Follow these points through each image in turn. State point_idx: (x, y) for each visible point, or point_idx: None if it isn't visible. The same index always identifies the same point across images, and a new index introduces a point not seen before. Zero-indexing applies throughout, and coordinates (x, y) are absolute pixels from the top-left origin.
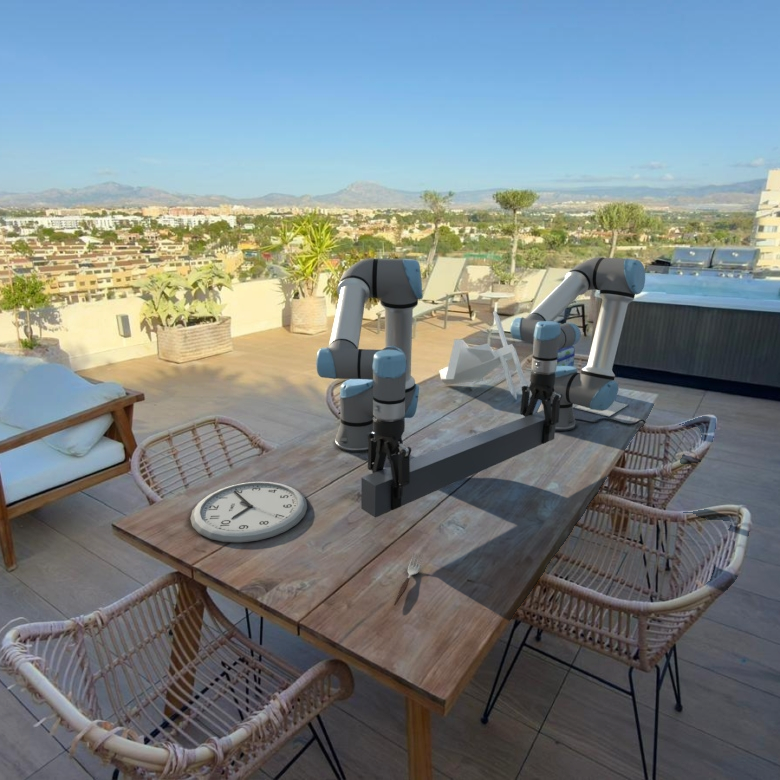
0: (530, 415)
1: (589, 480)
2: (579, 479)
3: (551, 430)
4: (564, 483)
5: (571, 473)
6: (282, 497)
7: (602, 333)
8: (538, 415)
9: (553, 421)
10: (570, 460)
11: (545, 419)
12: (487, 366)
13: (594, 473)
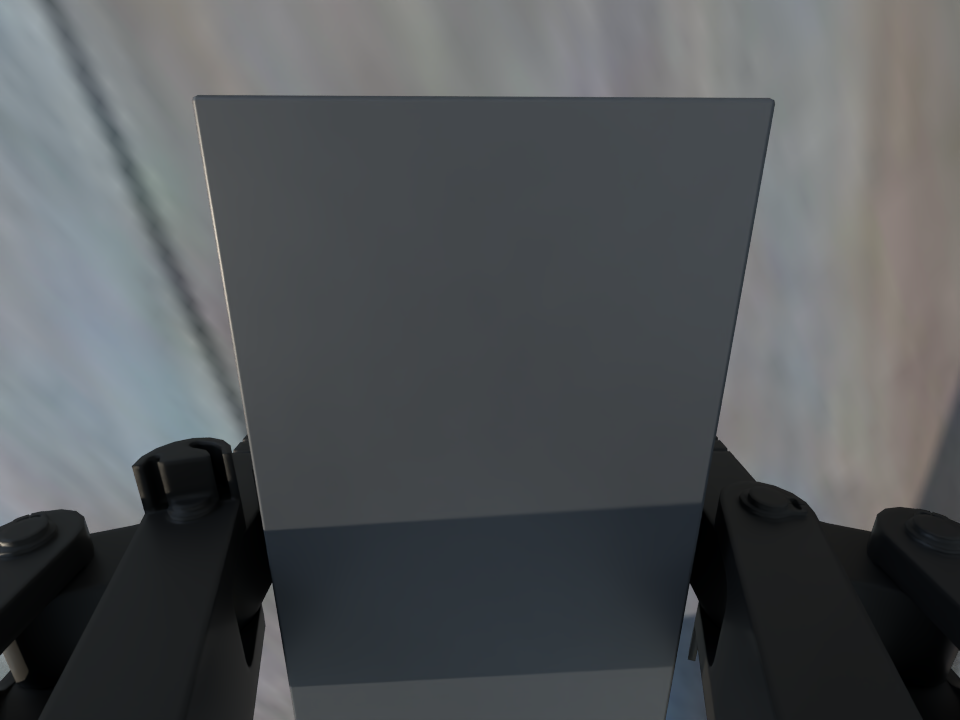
0: (316, 696)
1: (948, 300)
2: (880, 342)
3: (719, 445)
4: (813, 466)
5: (799, 299)
6: None
7: None
8: (425, 574)
9: (931, 712)
10: (698, 64)
11: (713, 705)
12: None
13: (955, 150)
